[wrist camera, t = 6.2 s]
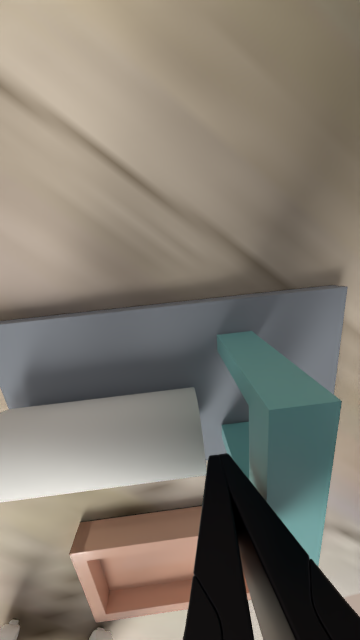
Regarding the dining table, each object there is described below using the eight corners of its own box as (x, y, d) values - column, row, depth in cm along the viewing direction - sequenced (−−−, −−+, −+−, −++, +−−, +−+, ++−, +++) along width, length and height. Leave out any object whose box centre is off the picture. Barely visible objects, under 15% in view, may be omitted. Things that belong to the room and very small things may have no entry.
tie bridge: (251, 330, 11) (341, 401, 5) (251, 433, 13) (317, 566, 7) (216, 334, 11) (268, 410, 5) (222, 437, 13) (264, 574, 7)
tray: (275, 495, 16) (287, 523, 15) (272, 564, 19) (282, 594, 17) (80, 522, 16) (69, 553, 14) (102, 588, 18) (96, 622, 17)
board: (332, 285, 12) (347, 286, 11) (316, 432, 15) (327, 444, 14) (-8, 321, 11) (-24, 327, 10) (46, 467, 14) (37, 482, 13)
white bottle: (192, 371, 11) (206, 454, 8) (194, 411, 13) (206, 487, 10) (-17, 396, 10) (-95, 493, 7) (24, 432, 13) (-22, 517, 10)
